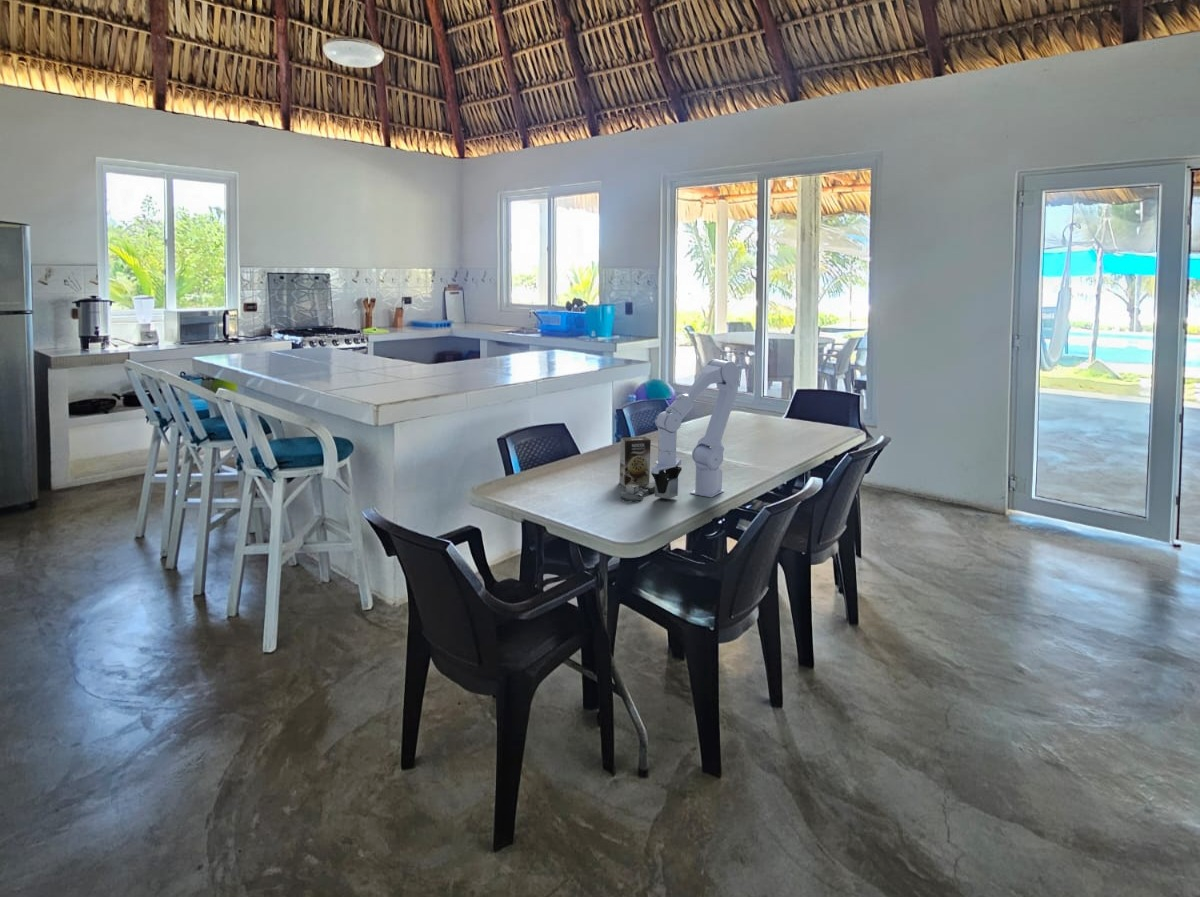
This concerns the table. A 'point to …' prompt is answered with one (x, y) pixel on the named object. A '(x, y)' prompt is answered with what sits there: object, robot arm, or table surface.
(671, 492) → the grey brushed cube
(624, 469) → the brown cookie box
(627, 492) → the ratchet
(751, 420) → the table surface
